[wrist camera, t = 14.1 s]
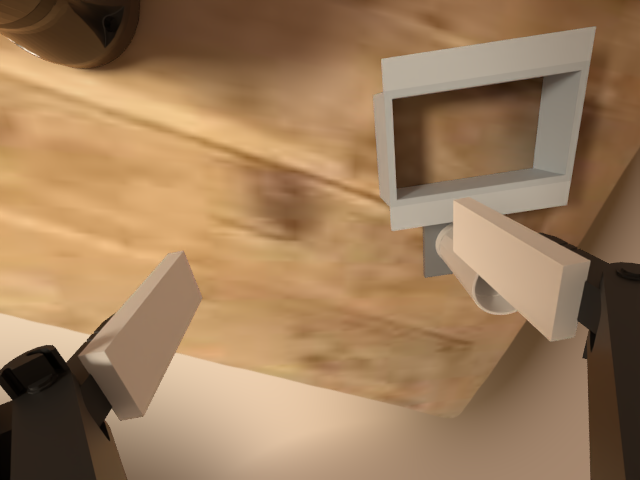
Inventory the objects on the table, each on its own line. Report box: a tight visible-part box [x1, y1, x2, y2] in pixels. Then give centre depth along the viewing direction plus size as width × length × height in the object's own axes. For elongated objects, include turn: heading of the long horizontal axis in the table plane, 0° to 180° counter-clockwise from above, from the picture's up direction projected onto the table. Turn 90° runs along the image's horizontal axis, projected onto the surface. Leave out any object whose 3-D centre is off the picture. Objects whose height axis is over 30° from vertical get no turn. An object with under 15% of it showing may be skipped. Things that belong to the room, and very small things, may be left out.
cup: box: [436, 223, 517, 315], centre depth 39 cm, size 8×8×12 cm
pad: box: [423, 222, 453, 278], centre depth 44 cm, size 10×10×1 cm
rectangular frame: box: [373, 26, 596, 231], centre depth 37 cm, size 19×22×6 cm
